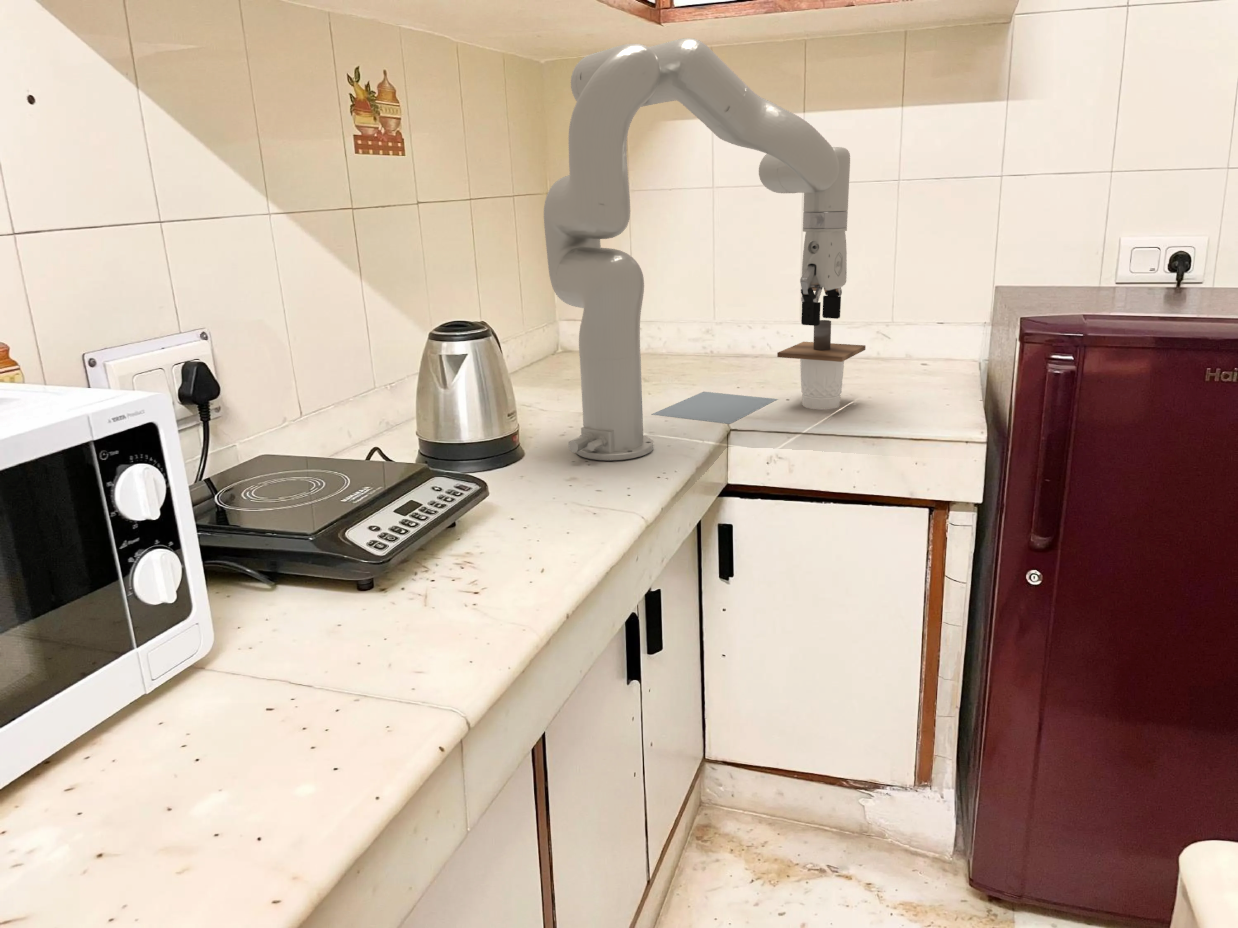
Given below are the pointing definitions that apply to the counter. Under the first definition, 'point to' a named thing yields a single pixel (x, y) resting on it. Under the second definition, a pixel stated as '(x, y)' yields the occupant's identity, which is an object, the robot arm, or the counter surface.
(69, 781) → the counter surface
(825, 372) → the white cup
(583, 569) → the counter surface
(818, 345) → the walnut cover
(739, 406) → the rubber mat
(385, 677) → the counter surface
